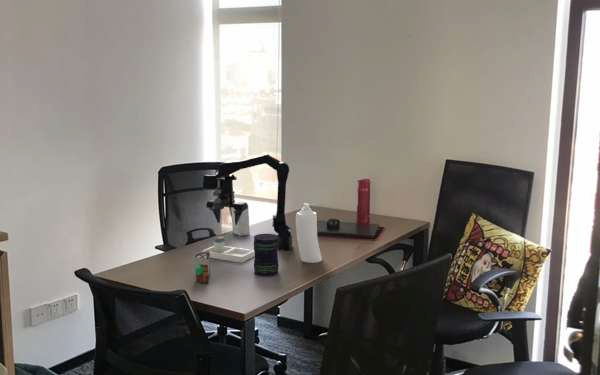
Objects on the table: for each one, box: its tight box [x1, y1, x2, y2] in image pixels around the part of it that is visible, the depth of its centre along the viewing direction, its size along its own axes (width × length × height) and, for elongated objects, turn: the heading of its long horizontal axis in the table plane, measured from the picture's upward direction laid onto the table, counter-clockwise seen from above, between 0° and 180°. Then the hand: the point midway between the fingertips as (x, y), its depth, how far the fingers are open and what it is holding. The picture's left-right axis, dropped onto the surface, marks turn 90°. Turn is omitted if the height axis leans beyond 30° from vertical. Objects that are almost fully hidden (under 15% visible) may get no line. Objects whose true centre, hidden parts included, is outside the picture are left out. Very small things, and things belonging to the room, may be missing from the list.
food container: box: [192, 250, 211, 285], centre depth 236 cm, size 12×6×10 cm, turn 5°
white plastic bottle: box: [295, 202, 323, 264], centre depth 260 cm, size 12×11×25 cm
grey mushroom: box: [212, 236, 226, 253], centre depth 270 cm, size 5×5×7 cm
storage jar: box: [253, 233, 279, 278], centre depth 244 cm, size 10×10×15 cm
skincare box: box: [230, 207, 251, 236], centre depth 306 cm, size 8×6×15 cm
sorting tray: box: [201, 245, 255, 264], centre depth 268 cm, size 20×11×2 cm, turn 64°
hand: (227, 223), depth 278 cm, fingers open, 9 cm apart
